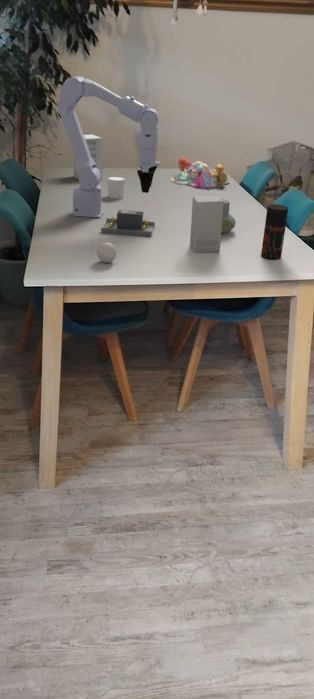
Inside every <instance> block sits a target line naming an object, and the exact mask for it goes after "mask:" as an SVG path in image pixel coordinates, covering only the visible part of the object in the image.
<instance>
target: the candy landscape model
mask: <svg viewBox="0 0 314 699" xmlns="http://www.w3.org/2000/svg"><path fill="white" fill-rule="evenodd" d="M177 164H178V168H179V171H175V172H174V173H173V176H171V178H170V181H171V182H172V183H173V184H177V185H182V186H189V187H192V188H197V189H199V188H200V189H201V188H202V189H206V188H207V189H213V188H223V187H226V185H225V184H229V183H230V181H229V180H228V175H227V173H226V172H225V170H224V165H222V164H221V163H216V165H215V167H214V168H215V170H212V171H211V169H210V167H209V166H208V164H206V163H204V162H203V161H202V160H200V161H199V160H195V162H193V163H192V164H191V161H188V159H187V158H186V157H181V158H179V160H178V163H177ZM185 169H186V170H187V171H186V173H185Z"/></svg>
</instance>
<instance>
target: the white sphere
mask: <svg viewBox="0 0 314 699" xmlns="http://www.w3.org/2000/svg"><path fill="white" fill-rule="evenodd" d="M117 252H118V251H117V248H116V246H115V245H114V244H113V243H111V242H107V241H106V242H102V243H100V244H99V245H98V247H97V249H96V252H95V251H94V252H92V254H94V253H96V256H97V257H98V259H99V261H101V262H103V263H105V264H108V263H112V262H113V261H114V260H116V257H117V254H118V253H117Z"/></svg>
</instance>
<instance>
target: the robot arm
mask: <svg viewBox="0 0 314 699" xmlns="http://www.w3.org/2000/svg"><path fill="white" fill-rule="evenodd" d="M88 97H95V98H98V99H100V100H102V101H104V102H105V103H108V104H110V105H112V106H114V107H116V108H117V110H118V112H119V114H120V115H123V117H124V116H125V117H126V118H128V119H129V120H131V121H132V122H133V121H134V122H136V123H139V125H140V134H139V152H138V155H139V156H138V165H139V166H140V169H138V170H137V172H136V174H137V176H138V179H139V182H140V188H141V189H140V190H141V193H145V194H148V193H149V192H150V188H151V187H152V185H153V179H154V176H155V172H156V170H157V168H158V166H160V164H161V161H157V157H158V156H157V154H158V153H157V152H158V136H159V134H158V131H159V130H158V129H159V128H158V124H159V120H160V114H159V113H158V111H157V110H156V109H155V108H154V107H149V105H148V104H145V105H144V104H143V103H141V102H140V101H137V100H136V99H135V98H136V97H134V96H132V95H131V96H128V95H127V96H124V97H121V96H120V95H118V94H116V93H114V92H113V91H111V90H109V89H108V88H106V87H104V86H102V85H101V84H99V83H97V82H95V81H94V80H91V79H89V78H85V77H84V76H83V75H81V74H80V75H79V74H76V75H73V76H72V77H68V78H67V79H65V81H64V82H63V84H62V85H61V87H60V96H59V100H58V106H57V107H58V108H57V109H58V112H59V115H60V116H59V117H60V118H61V121H62V123H63V127H64V130H65V133H66V134H67V137H68V140H69V143H70V145H71V146H70V147H71V149H72V151H73V152H74V154H75V157H76V160H77V163H78V172H79V179H78V183H79V185H80V186H79V187H74V188H73V192H72V216H73V217H82V218H83V217H85V218H86V217H87V218H97V219H98V218H101V217H102V215H103V214H104V210H102V186H101V185H100V182H101V179H103V171H102V172H101V170H100V169H99V168H98V167H97V166H96V164H95V161H94V160H93V158H92V157H91V154H90V151H89V149H88V146H87V143H86V140H85V137H84V135H85V134H84V132H83V129H82V125H81V123H80V121H79V117H78V115H77V112H76V107H77V106H78V105H79V104H78V103H79V101H80V99H82V98H88ZM73 152H72V153H73Z"/></svg>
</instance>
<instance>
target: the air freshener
mask: <svg viewBox="0 0 314 699" xmlns="http://www.w3.org/2000/svg"><path fill="white" fill-rule="evenodd" d="M221 199H222V198H221ZM222 200H223V201H224V206H223V217H222V229H221V235H223V234H225V233H226V234H227V233H228V232H231V231H232V230H234V228H235V227H236V219H235V218H234V216H233V215H231V214H230V203H231V202H230V200H227V199H224V198H223V199H222Z"/></svg>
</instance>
